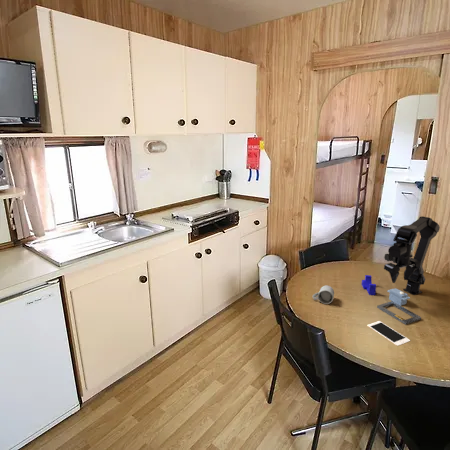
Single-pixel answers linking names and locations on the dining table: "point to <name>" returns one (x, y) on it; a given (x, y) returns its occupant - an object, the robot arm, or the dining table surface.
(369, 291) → the cable clip
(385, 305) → the plate
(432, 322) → the dining table surface
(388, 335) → the cell phone
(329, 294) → the ceramic mug
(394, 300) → the servo block
